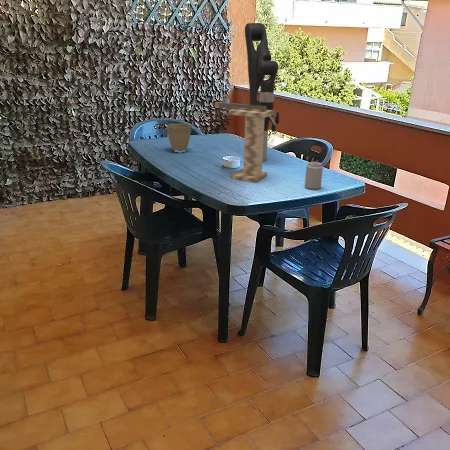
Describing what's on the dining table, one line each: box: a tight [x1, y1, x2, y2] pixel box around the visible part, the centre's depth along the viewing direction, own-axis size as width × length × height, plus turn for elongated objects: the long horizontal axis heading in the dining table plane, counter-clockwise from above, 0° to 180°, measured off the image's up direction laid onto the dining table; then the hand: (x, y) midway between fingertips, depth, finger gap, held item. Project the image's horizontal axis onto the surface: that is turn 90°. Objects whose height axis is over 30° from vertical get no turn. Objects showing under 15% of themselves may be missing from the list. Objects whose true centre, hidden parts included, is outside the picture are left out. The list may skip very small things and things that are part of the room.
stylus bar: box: [214, 101, 266, 112], centre depth 218 cm, size 26×2×2 cm, turn 63°
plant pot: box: [166, 123, 192, 151], centre depth 276 cm, size 15×15×16 cm
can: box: [304, 161, 324, 191], centre depth 212 cm, size 8×8×12 cm
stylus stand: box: [228, 107, 275, 184], centre depth 222 cm, size 18×14×34 cm
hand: (265, 132), depth 245 cm, fingers open, 8 cm apart
